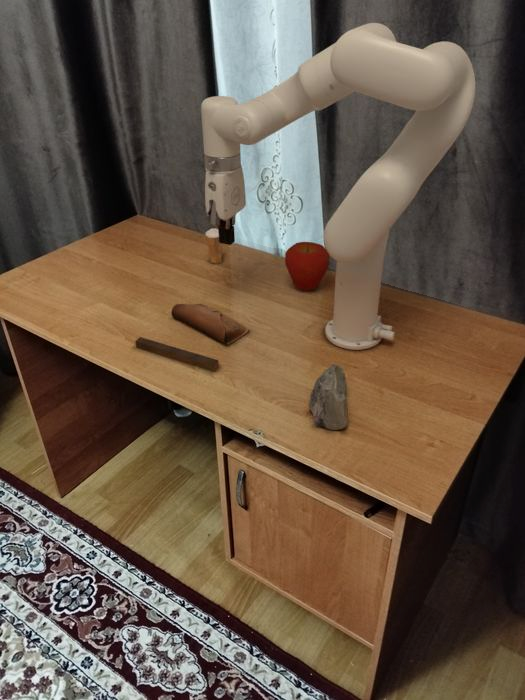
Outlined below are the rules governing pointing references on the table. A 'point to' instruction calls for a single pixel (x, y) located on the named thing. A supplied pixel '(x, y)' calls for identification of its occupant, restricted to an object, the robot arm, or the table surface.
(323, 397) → the mineral rock
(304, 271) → the apple
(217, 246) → the beer glass
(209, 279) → the table surface
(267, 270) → the table surface
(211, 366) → the rail
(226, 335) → the sunglasses case
